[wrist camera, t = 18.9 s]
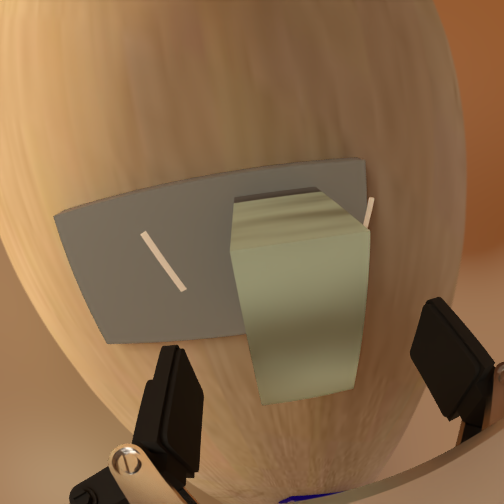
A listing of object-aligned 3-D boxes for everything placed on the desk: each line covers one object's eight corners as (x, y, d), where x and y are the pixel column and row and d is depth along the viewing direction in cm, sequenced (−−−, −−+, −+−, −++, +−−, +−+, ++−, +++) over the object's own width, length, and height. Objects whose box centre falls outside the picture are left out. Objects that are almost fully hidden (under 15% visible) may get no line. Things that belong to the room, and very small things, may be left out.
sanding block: (234, 197, 17) (229, 251, 9) (315, 186, 17) (370, 231, 9) (254, 316, 20) (261, 405, 13) (320, 306, 20) (353, 388, 13)
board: (63, 210, 18) (53, 216, 16) (363, 156, 17) (373, 159, 16) (112, 333, 23) (107, 344, 21) (362, 302, 22) (368, 312, 21)
